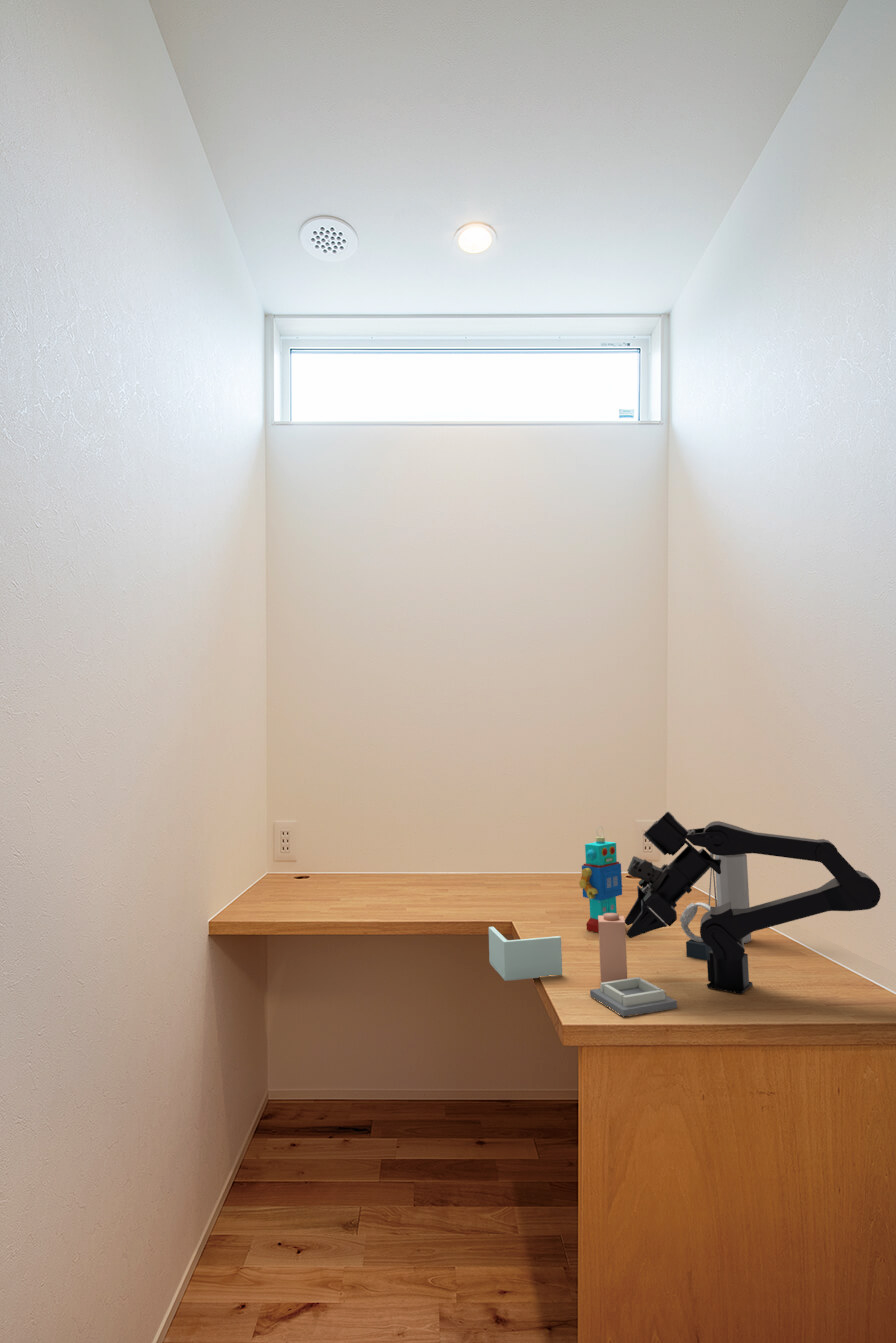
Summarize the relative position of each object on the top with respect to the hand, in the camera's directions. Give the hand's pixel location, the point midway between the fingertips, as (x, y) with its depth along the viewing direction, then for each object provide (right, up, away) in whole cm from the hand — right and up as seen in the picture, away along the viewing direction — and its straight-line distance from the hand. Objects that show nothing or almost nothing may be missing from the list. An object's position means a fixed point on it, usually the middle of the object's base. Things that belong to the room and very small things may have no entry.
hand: (626, 929), depth 147 cm
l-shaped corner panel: (-19, -11, +9) cm, 24 cm away
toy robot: (+4, -13, +38) cm, 40 cm away
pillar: (-3, -10, 0) cm, 10 cm away
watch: (+20, -11, +15) cm, 27 cm away
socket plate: (-2, -9, -12) cm, 15 cm away
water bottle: (+30, -11, +26) cm, 41 cm away
